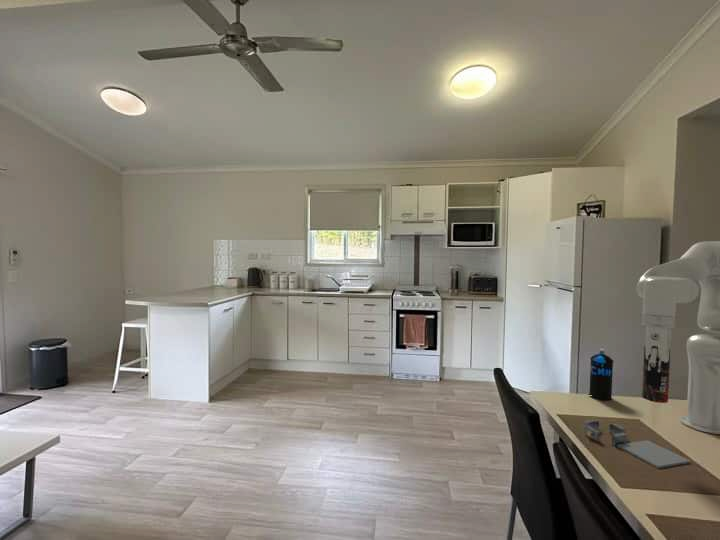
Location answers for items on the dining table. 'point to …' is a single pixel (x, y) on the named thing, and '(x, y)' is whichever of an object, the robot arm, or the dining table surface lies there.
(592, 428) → the collar
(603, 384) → the aerosol can
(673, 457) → the coaster
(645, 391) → the deodorant
